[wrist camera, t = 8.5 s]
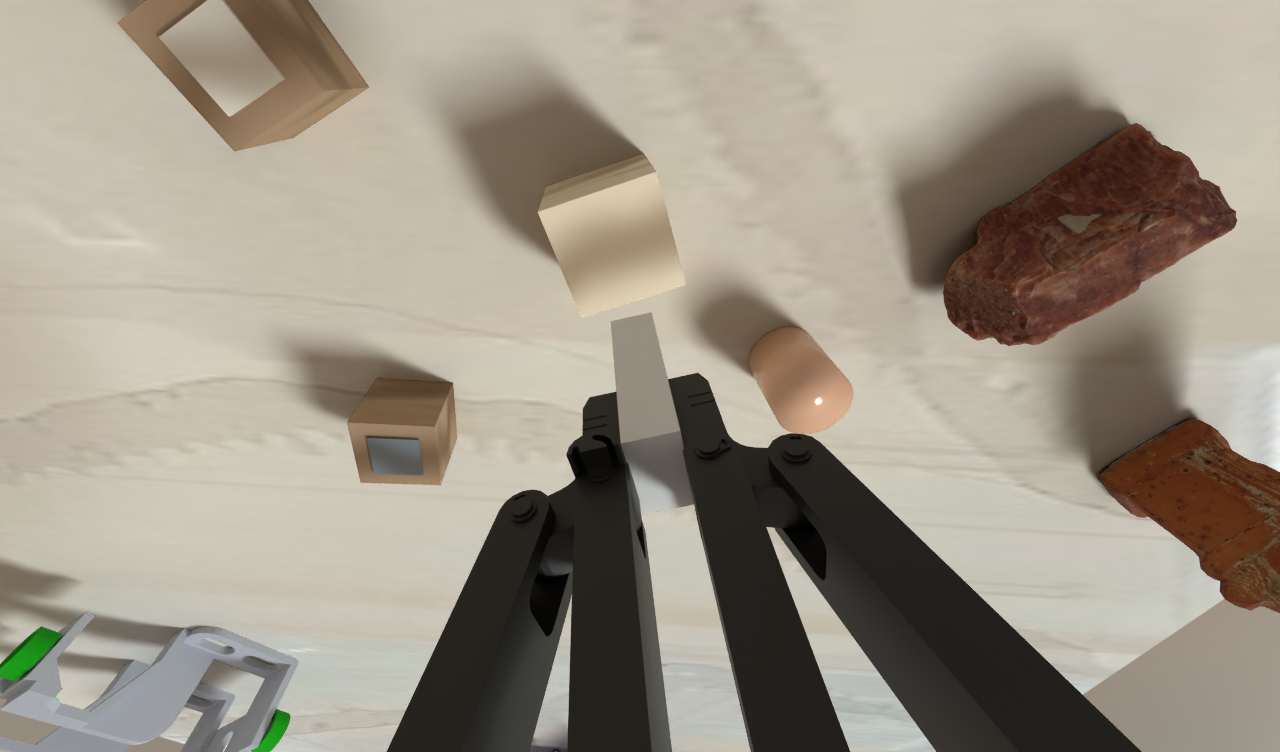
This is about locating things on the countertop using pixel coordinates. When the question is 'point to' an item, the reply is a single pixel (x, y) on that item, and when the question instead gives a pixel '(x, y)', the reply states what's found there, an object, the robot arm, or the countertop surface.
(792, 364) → the peach rounded cylinder
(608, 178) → the maple block
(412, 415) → the walnut block
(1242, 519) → the sculpture
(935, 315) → the countertop surface
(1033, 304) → the rock
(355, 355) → the countertop surface
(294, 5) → the walnut block
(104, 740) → the bracket
